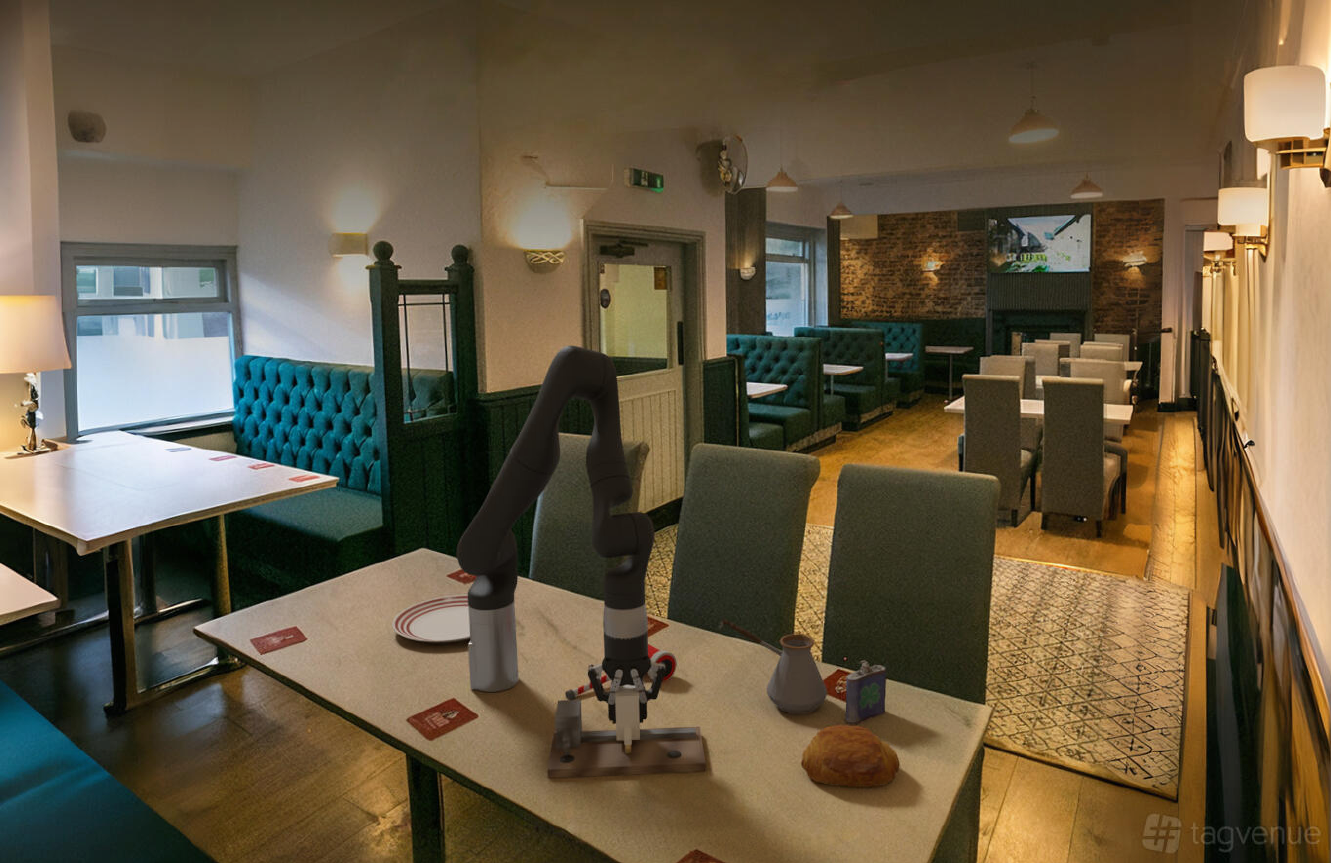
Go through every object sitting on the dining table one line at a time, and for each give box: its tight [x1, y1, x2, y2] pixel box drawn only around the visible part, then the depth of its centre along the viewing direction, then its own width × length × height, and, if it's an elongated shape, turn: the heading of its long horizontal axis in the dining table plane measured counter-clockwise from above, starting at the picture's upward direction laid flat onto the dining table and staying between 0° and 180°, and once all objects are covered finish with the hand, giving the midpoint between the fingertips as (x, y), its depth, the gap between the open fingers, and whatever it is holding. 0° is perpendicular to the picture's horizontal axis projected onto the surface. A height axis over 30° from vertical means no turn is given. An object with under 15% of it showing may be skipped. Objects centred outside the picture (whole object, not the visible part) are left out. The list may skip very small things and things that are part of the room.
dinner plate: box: [391, 594, 470, 643], centre depth 205 cm, size 27×27×3 cm
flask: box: [844, 659, 888, 726], centre depth 158 cm, size 9×3×11 cm, turn 121°
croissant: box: [800, 724, 901, 788], centre depth 141 cm, size 14×16×8 cm
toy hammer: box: [564, 643, 678, 700], centre depth 174 cm, size 23×12×6 cm, turn 127°
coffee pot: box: [718, 618, 828, 715], centre depth 165 cm, size 21×12×15 cm, turn 65°
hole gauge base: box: [546, 699, 707, 779], centre depth 146 cm, size 26×12×8 cm, turn 92°
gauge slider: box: [615, 685, 641, 753], centre depth 147 cm, size 4×10×8 cm, turn 2°
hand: (628, 720), depth 149 cm, fingers closed on gauge slider, 4 cm apart
